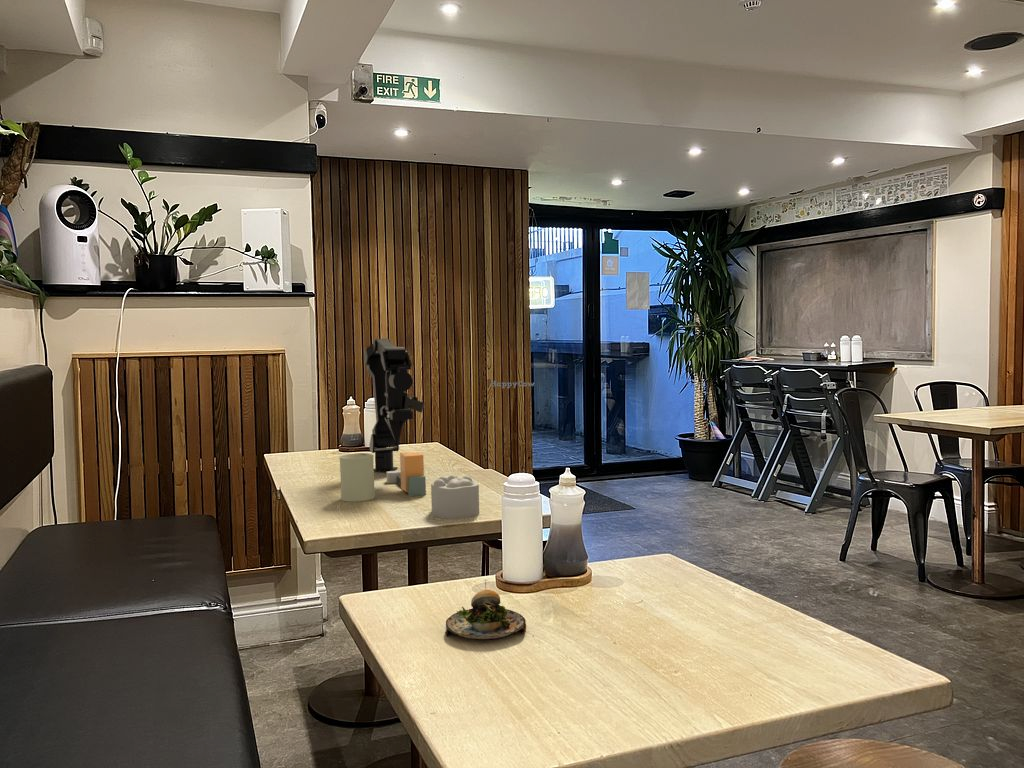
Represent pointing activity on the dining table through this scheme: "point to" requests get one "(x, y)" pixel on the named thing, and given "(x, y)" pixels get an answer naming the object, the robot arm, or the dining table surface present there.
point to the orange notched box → (410, 467)
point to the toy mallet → (409, 482)
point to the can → (357, 477)
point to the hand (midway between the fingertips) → (397, 441)
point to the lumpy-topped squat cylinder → (455, 497)
